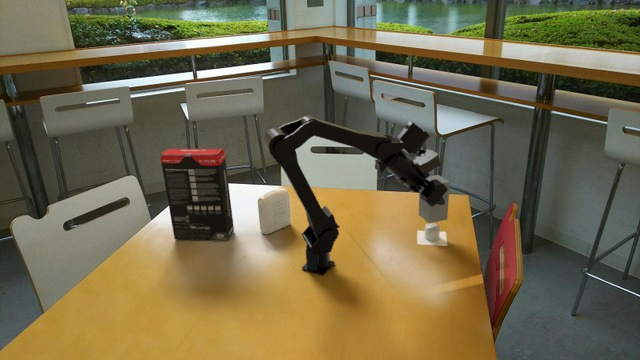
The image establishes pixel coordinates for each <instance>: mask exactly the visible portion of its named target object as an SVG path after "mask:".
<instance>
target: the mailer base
mask: <svg viewBox="0 0 640 360" xmlns="http://www.w3.org/2000/svg"><path fill="white" fill-rule="evenodd" d="M416 236H417V237H416V238H417V239H416V240H417V241H416V244H417V245H418V246H419V245H422V246H423V245H424V246H439V247H440V246H441V247H442V246H443V247H448V241H447V240H448V239H447V232H446V231H441V226H440V225H439V224H437V223H434V222H433V223H426V224H425V226H424V230H419V229H417V231H416Z"/></svg>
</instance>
